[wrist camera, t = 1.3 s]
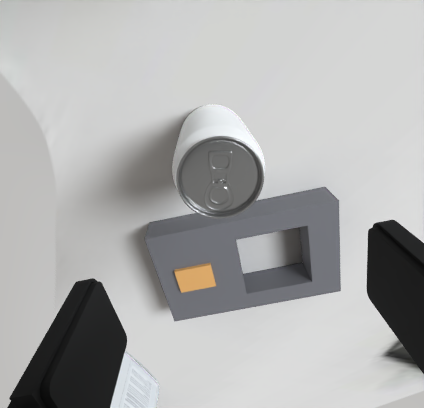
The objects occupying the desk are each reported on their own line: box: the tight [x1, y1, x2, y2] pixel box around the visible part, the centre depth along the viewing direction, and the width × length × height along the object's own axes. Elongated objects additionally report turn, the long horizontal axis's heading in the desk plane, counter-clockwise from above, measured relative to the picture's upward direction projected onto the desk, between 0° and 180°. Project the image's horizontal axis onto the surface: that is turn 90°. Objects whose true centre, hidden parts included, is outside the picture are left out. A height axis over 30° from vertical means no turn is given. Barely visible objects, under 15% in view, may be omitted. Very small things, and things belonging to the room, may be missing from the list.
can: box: [172, 104, 265, 219], centre depth 24 cm, size 6×6×12 cm
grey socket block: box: [145, 187, 341, 321], centre depth 34 cm, size 12×20×4 cm, turn 102°
